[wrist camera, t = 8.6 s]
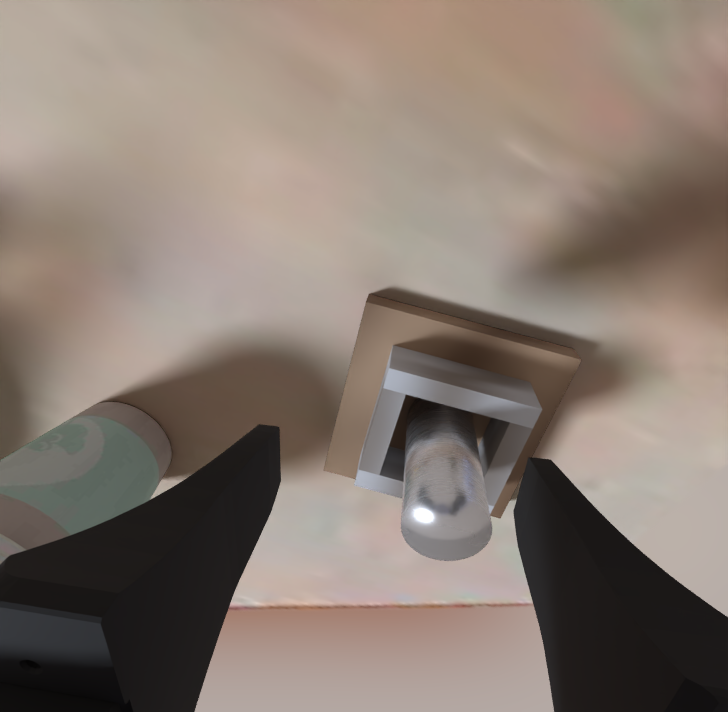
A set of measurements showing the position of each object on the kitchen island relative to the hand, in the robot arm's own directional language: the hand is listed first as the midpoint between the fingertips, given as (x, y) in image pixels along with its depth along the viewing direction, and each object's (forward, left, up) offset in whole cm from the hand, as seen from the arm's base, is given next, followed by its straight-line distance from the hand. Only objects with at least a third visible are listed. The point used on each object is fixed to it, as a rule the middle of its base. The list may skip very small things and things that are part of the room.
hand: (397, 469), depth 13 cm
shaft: (-3, +3, -9) cm, 10 cm away
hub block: (-3, +3, -10) cm, 11 cm away
